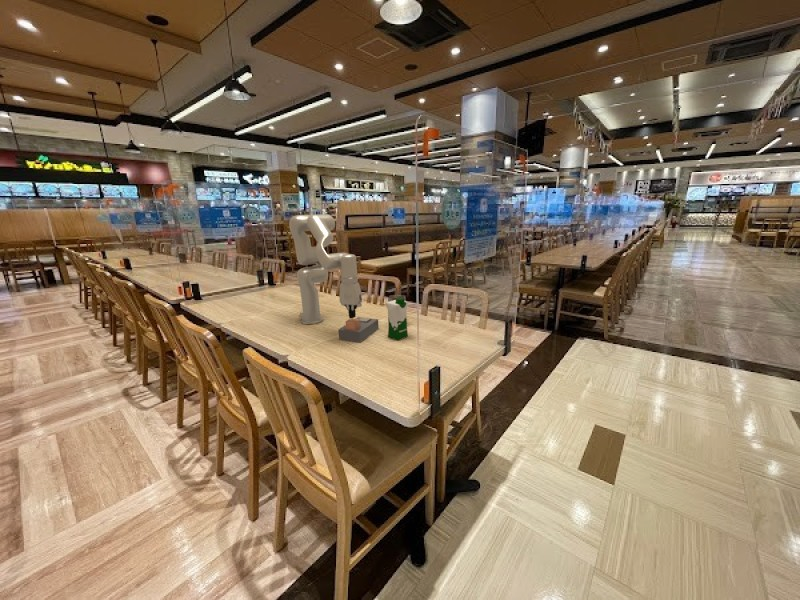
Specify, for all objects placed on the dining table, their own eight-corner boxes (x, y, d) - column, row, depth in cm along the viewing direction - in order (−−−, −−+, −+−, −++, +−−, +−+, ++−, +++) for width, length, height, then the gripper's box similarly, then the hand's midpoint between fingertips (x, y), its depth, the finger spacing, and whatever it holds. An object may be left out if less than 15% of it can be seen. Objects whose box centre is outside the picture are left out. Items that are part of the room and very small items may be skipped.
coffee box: (406, 322, 179) (405, 294, 175) (405, 326, 173) (404, 297, 169) (390, 322, 180) (389, 294, 176) (389, 326, 174) (387, 297, 169)
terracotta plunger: (346, 331, 156) (345, 321, 154) (351, 327, 160) (350, 318, 159) (355, 332, 154) (354, 322, 152) (360, 329, 158) (359, 319, 157)
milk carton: (398, 341, 152) (397, 301, 147) (385, 337, 158) (383, 298, 153) (410, 336, 159) (409, 297, 153) (397, 332, 165) (396, 294, 159)
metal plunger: (358, 329, 167) (358, 320, 166) (363, 326, 171) (362, 317, 170) (367, 330, 165) (366, 321, 164) (371, 327, 170) (370, 318, 168)
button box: (339, 339, 157) (338, 329, 155) (359, 326, 174) (358, 317, 173) (360, 342, 152) (359, 332, 151) (378, 329, 170) (378, 319, 169)
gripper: (331, 281, 150) (335, 318, 154) (359, 283, 144) (362, 321, 149) (340, 278, 156) (343, 314, 161) (367, 279, 151) (369, 316, 156)
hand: (352, 317), depth 155 cm, fingers closed
